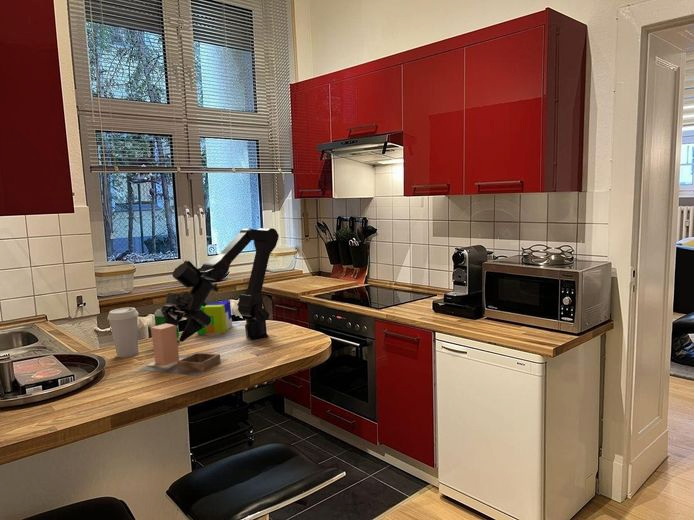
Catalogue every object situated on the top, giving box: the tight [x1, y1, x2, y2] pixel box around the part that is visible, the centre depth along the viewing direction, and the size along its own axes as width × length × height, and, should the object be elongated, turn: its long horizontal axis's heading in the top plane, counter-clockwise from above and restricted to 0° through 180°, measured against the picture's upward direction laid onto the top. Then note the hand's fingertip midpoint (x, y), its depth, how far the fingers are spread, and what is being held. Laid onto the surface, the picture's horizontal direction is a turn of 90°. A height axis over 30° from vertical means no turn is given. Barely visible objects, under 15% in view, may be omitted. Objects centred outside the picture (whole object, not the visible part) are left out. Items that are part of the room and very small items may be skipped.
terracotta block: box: [150, 323, 180, 366], centre depth 154 cm, size 5×5×11 cm
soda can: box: [153, 307, 180, 341], centre depth 180 cm, size 8×8×12 cm
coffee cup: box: [107, 307, 140, 359], centre depth 168 cm, size 10×10×15 cm
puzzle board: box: [137, 351, 228, 377], centre depth 152 cm, size 22×14×4 cm, turn 68°
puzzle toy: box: [197, 300, 233, 335], centre depth 194 cm, size 10×10×10 cm
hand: (171, 339), depth 155 cm, fingers open, 9 cm apart
